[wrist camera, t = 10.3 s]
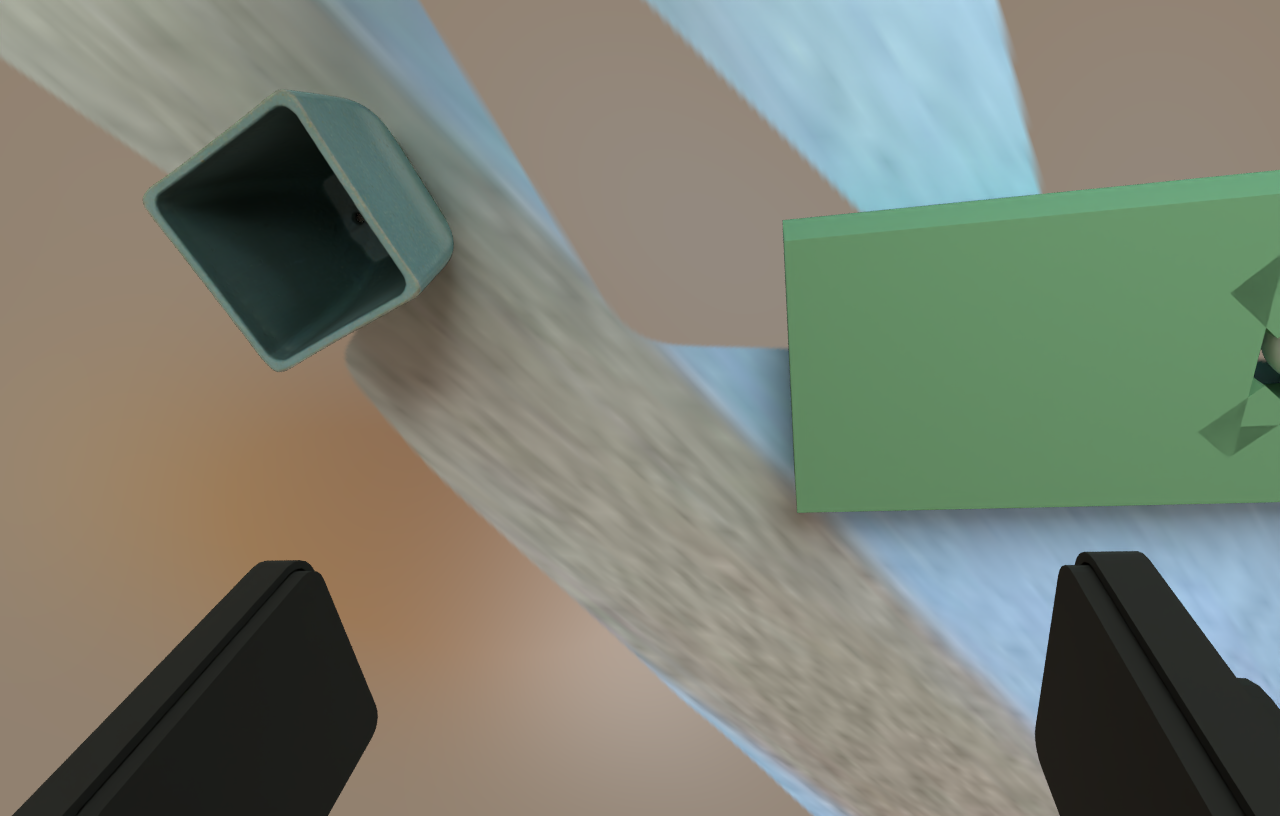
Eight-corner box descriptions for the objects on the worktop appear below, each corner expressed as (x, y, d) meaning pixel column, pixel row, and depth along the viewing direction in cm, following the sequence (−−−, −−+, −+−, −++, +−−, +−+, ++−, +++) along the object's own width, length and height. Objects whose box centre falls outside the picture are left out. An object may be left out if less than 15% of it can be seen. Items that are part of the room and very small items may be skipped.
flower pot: (267, 164, 37) (132, 198, 29) (395, 72, 34) (283, 83, 26) (371, 310, 40) (274, 377, 32) (498, 238, 37) (424, 292, 29)
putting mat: (782, 220, 34) (797, 376, 18) (1497, 148, 29) (2403, 281, 13) (794, 471, 40) (813, 751, 24) (1386, 451, 35) (1907, 797, 19)
